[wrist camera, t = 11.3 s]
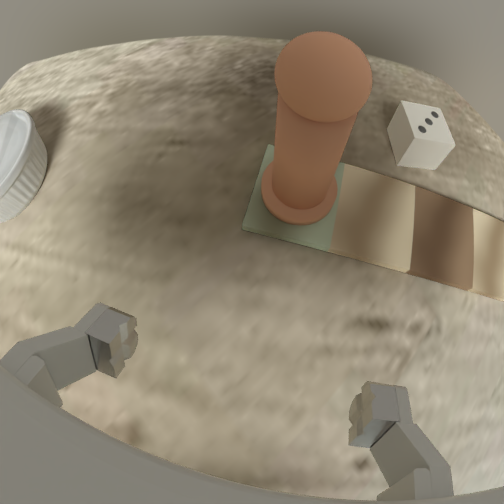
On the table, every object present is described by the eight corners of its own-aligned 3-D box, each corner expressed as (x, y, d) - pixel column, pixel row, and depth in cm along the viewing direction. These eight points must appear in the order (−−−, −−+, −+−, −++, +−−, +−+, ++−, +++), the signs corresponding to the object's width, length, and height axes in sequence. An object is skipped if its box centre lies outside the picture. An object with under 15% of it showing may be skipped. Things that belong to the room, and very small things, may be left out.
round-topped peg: (339, 171, 22) (392, 29, 10) (327, 234, 20) (398, 97, 8) (271, 154, 22) (279, 3, 10) (252, 214, 21) (245, 60, 9)
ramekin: (73, 171, 24) (44, 138, 19) (-3, 257, 21) (-40, 238, 16) (39, 122, 26) (17, 93, 21) (-24, 191, 24) (-51, 170, 19)
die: (423, 135, 24) (440, 107, 20) (434, 170, 23) (455, 144, 19) (386, 129, 24) (401, 99, 20) (396, 166, 23) (415, 137, 19)
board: (511, 231, 21) (516, 228, 20) (512, 304, 19) (518, 302, 18) (267, 150, 23) (268, 144, 23) (242, 229, 21) (241, 225, 21)
